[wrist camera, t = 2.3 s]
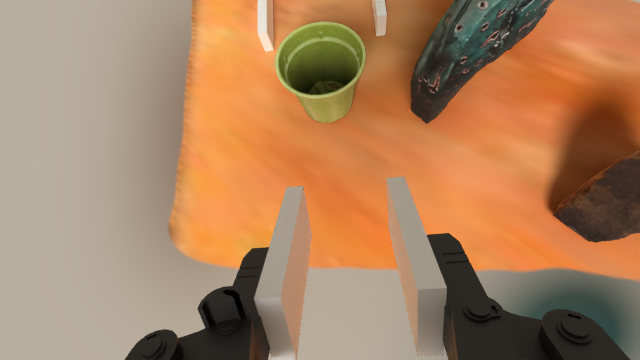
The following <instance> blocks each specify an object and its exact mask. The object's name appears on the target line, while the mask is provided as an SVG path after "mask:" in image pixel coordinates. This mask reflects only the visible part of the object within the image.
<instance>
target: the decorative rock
mask: <svg viewBox="0 0 640 360" xmlns="http://www.w3.org/2000/svg"><path fill="white" fill-rule="evenodd" d="M553 215H554V216H555V217H556V218H557V219H559V220H560V221H561V222H562V223H564V224H565V225H566V226H567V227H569V228H571V229H572V230H574V231H575V232H576V233H578V234H579V235H580V236H582V237H583V238H584V239H586V240H587V241H590V242H591V241H592V242H600V241H611V240H615V239H620V238H625V237H627V236H629V235H630V234H634V233H640V149H639V150H637V151H636V152H634V153H633V154H631V155H628V156H624V157H622V158H621V159H619V160H618V161H615V162H613V163H612V164H611V165H609V166H608V167H607V168H606V169H604V170H603V171H601V172H600V173H599V174H597V175H596V176H594V177H592V178H591V179H590V180H589V181H587V182H585V183H584V184H583V185H581V186H580V187H579V188H578V189H577V190H576V191H575V192H573V193H572V194H570V195H569V196H568V197H566V198H565V199H564V200H563V201H562V202H561V203H560V204H559V205H558V207H557V208H556V210H555V211H554V213H553Z"/></svg>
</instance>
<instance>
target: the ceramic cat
mask: <svg viewBox="0 0 640 360" xmlns="http://www.w3.org/2000/svg"><path fill="white" fill-rule="evenodd" d="M553 1H554V0H455V1H454V2H453V4H452V5H451V6H450V7H449V9H448V10H447V12H446V13H445V15H444V16H443V18H442V19H441V21H440V22H439V24H438V25H437V27H436V28H435V30H434V32H433V33H432V35H431V36H430V38H429V40H428V42H427V44H426V46H425V48H424V50H423V51H422V53H421V55H420V57H419V59H418V61H417V63H416V66H415V69H414V73H413V77H412V81H411V98H412V103H411V110H412V112H414V113H415V114H416V115H417V116H418V117H420V118H421V119H422V120H423V121H424V122H425V123H426V124H427V123H429V122H430V121H432V120H433V119H435V118H436V117H437V116H438V115H439V114H440V113H441V112H442V110H443V109H444V108H445V107H446V106H447V104H448V102H449V101H450V100H451V99H452V98H453V97H454V96H455V95H456V93H457V92H458V91H459V90H460V89H461V88H462V87H463V86H464V85H465V84H466V83H467V81H469V80H470V79H471V78H472V77H473V76H474V75H475V74H476V73H477V72H478V71H479V70H481V69H482V68H483V67H484V66H486V65H487V64H489V63H491V62H493V61H495V60H496V59H497V58H498V57H500V56H501V55H502V54H503V53H504V52H505V51H507V50H510V49H511V48H512V47H513V46H514V45H515V44H516V43H518V42H519V41H520V40H521V39H523V38H524V37H525V36H527V35H528V34H529V33H530V32H531V31H532V30H533V29H534V28H535V26H536V25H537V24H538V22H539V21H540V19H541V18H542V17H543V16H544V15H545V13H546V11H547V8H548V7H549V5H550V4H551V3H552V2H553Z"/></svg>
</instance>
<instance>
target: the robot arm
mask: <svg viewBox="0 0 640 360" xmlns="http://www.w3.org/2000/svg"><path fill="white" fill-rule="evenodd" d="M387 197H388V219H389V231H390V236H391V240H392V245H393V249H394V254H395V258H396V262H397V267H398V271H399V276H400V280H401V284H402V289H403V294H404V298H405V303H406V307H407V312H408V316H409V320H410V324H411V329H412V334H413V338H414V343H415V347H416V352H417V356H439V355H443V352H444V346H445V350H446V353H447V356H448V359H449V360H630V359H629V358H628V357H627V356H626V355H625V353H624V352H623V351H622V350H621V349H620V348H619V347H618V346H617V344H615V342H614V341H613V340H612V339H611V338H610V337H609V335H608V334H607V333H606V332H605V331H604V330H603V329H602V328H601V327H600V326H599V325H598V324H597V323H595V322H594V321H593V320H592V319H590V318H588V317H586V316H584V315H582V314H580V313H576V312H573V311H570V310H561V309H556V310H552V311H549V312H547V313H546V314H545V315H544V316H543V318H542V320H538V319H533V318H528V317H523V316H519V315H515V314H512V313H509V312H507V311H505V310H503V308H502V307H501V306H500V305H499V304H498V303H497V302H496V301H495V300H493V299H491V298H489V297H488V296H487V294H486V293H485V291H484V289H483V287H482V285H481V283H480V281H479V279H478V277H477V275H476V273H475V271H474V269H473V267H472V265H471V263H469V259H468V258H467V256H466V254H465V252H464V250H463V248H462V246H461V244H460V242H459V241H458V240H457V239H455V238H454V237H453V236H452V235H450V234H449V233H445V234H431V235H426V232H425V230H424V227H423V224H422V222H421V219H420V217H419V214H418V211H417V209H416V206H415V204H414V201H413V198H412V196H411V193H410V191H409V188H408V185H407V183H406V180H405V178H404V177H394V178H387ZM311 237H312V233H311V227H310V222H309V216H308V210H307V204H306V199H305V193H304V187H303V186H297V187H287V189H286V192H285V195H284V199H283V202H282V206H281V209H280V212H279V216H278V219H277V222H276V226H275V229H274V233H273V236H272V239H271V243H270V246H269V247H267V248H253V249H251V250H250V251H249V252H248V254H247V255H246V256H245V257H244V258H243V260H242V263H241V266H240V270H239V271H238V273H237V276H236V279H235V281H234V284H233V286H228V287H222V288H219V289H216V290H214V291H212V292H211V293H209V294H208V295H207V296H206V297H205V298H204V299H203V300H202V301H201V302H200V304H199V307H198V311H199V313H200V315H201V318H202V321H203V323H204V325H205V329H203V330H201V331H199V332H196V333H193V334H190V335H187V336H184V337H180V338H178V337H177V335H176V334H175V333H174V332H173V331H171V330H158V331H155V332H153V333H150V334H149V335H147V336H145V337H144V338H143V339H141V340H140V341H139V342H138V343H137V344H136V345H135V346H134V347H133V348H132V350H131V351H130V353H129V354H128V356H127V357H126V359H125V360H268V356H269V351H270V354H271V357H272V360H296V359H297V350H298V343H299V335H300V326H301V319H302V309H303V301H304V293H305V286H306V278H307V270H308V262H309V253H310V245H311Z"/></svg>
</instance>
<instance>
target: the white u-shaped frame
mask: <svg viewBox="0 0 640 360" xmlns="http://www.w3.org/2000/svg"><path fill="white" fill-rule="evenodd" d="M371 1H372V8H373V16H374V24H375V31H376V36H383V35H385V33H386V20H387V12H386V6H385V0H371ZM258 35H259V38H260V40H261V42H262V45H263V47H264V50H265V52H267V51H274V24H273V0H258Z"/></svg>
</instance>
